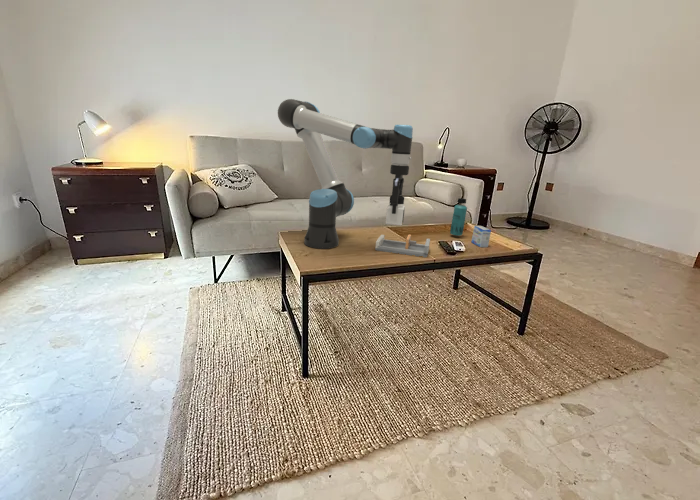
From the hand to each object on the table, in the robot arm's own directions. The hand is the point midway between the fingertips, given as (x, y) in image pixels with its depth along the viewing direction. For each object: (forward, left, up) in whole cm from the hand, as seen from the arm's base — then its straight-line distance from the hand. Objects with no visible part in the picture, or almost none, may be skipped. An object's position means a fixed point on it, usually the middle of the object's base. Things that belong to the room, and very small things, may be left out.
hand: (394, 219), depth 149 cm
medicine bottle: (0, 0, -2) cm, 2 cm away
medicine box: (+39, +26, -14) cm, 49 cm away
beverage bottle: (+28, +36, -14) cm, 47 cm away
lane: (+5, 0, -13) cm, 14 cm away
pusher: (+8, 0, -12) cm, 15 cm away
